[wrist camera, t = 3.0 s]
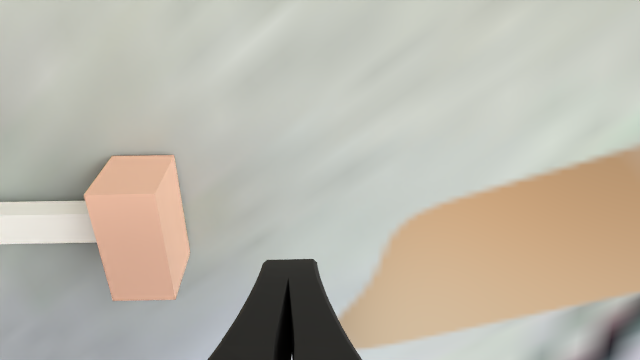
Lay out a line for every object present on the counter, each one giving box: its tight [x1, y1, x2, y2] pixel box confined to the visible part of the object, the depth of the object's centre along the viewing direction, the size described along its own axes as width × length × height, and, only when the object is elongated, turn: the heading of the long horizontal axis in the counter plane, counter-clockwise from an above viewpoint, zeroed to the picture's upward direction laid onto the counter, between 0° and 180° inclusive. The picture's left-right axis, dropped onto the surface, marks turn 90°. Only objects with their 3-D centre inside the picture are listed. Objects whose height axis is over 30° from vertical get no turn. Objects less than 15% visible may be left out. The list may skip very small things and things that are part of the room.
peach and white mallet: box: [0, 155, 190, 301], centre depth 20 cm, size 5×11×4 cm, turn 90°
